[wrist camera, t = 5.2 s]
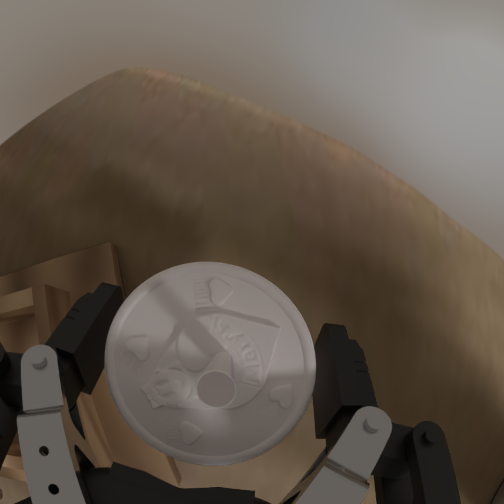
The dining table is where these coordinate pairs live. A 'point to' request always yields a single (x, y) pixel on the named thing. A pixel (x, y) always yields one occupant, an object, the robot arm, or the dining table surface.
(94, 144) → the dining table surface
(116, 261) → the open wooden box
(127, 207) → the dining table surface
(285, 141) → the dining table surface
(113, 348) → the smoothie
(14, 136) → the dining table surface
